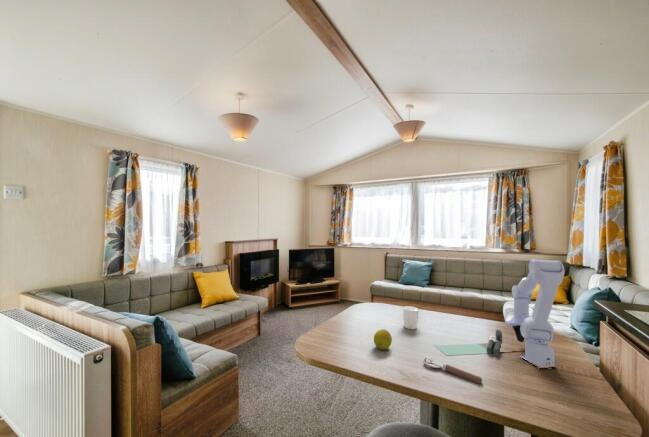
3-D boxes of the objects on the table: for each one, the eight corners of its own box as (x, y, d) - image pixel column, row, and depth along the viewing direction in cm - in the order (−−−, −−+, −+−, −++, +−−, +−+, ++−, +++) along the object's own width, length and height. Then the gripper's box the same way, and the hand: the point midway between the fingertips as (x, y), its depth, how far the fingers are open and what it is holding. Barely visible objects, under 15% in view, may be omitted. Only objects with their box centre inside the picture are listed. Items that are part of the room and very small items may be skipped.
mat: (525, 351, 122) (525, 351, 122) (446, 355, 117) (446, 355, 117) (509, 342, 131) (509, 342, 131) (434, 345, 125) (434, 345, 125)
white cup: (416, 324, 151) (416, 306, 151) (419, 330, 143) (420, 311, 143) (401, 323, 152) (402, 305, 152) (404, 329, 144) (404, 310, 144)
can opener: (490, 339, 134) (491, 326, 134) (502, 342, 131) (503, 329, 131) (485, 353, 119) (485, 339, 119) (499, 357, 116) (499, 342, 116)
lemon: (386, 355, 115) (386, 336, 116) (369, 349, 120) (370, 331, 120) (395, 346, 124) (396, 328, 124) (379, 341, 129) (380, 324, 129)
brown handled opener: (483, 382, 99) (483, 374, 99) (479, 390, 95) (480, 381, 95) (426, 360, 112) (427, 353, 112) (421, 366, 108) (422, 358, 108)
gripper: (527, 309, 132) (526, 336, 132) (500, 309, 130) (499, 337, 130) (540, 314, 125) (539, 343, 125) (512, 314, 123) (512, 344, 123)
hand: (520, 341), depth 127 cm, fingers closed
